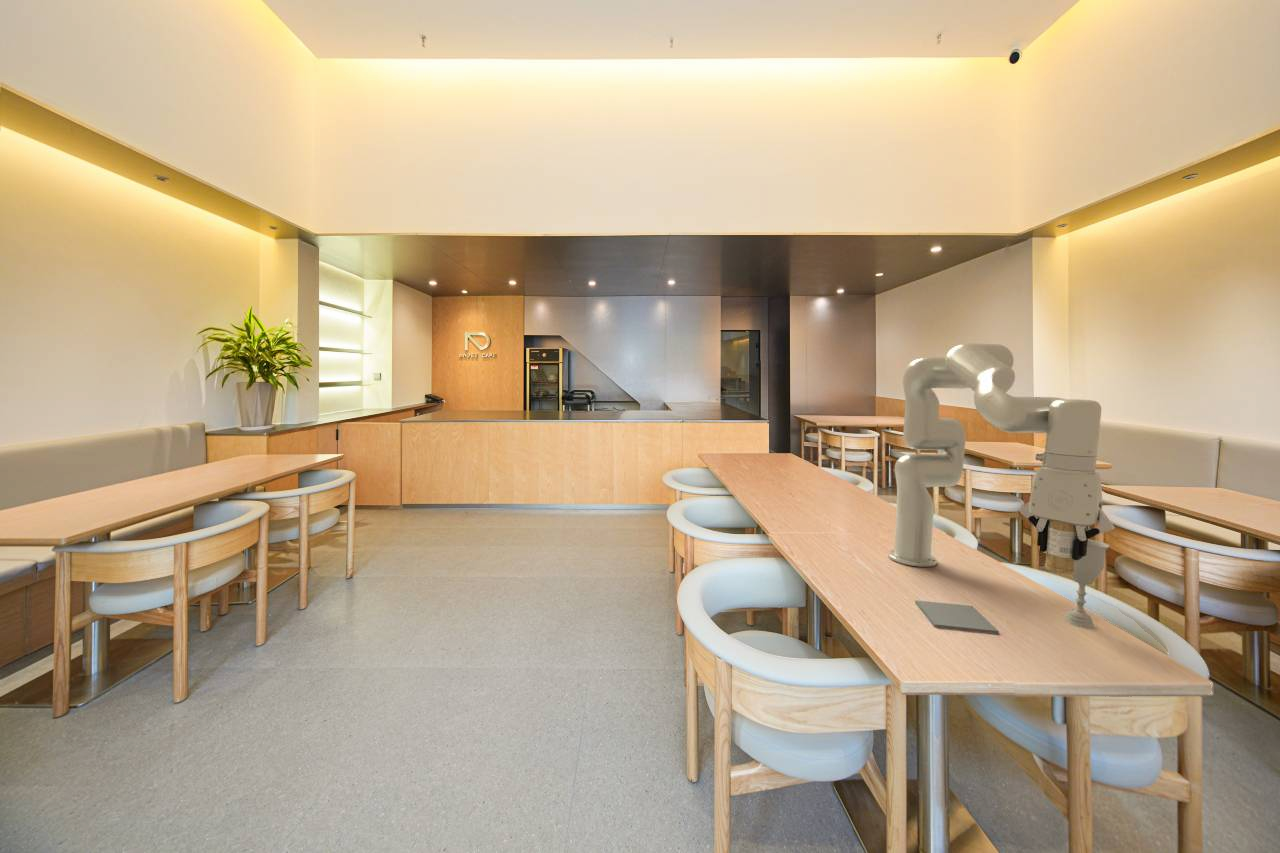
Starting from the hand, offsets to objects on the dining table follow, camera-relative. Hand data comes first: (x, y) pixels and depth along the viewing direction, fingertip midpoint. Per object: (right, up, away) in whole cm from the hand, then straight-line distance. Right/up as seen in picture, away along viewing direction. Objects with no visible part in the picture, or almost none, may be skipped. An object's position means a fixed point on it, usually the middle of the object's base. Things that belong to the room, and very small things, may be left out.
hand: (1060, 553), depth 95 cm
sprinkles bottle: (0, -4, 0) cm, 4 cm away
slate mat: (-13, -17, +12) cm, 25 cm away
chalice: (+13, -18, +10) cm, 25 cm away
